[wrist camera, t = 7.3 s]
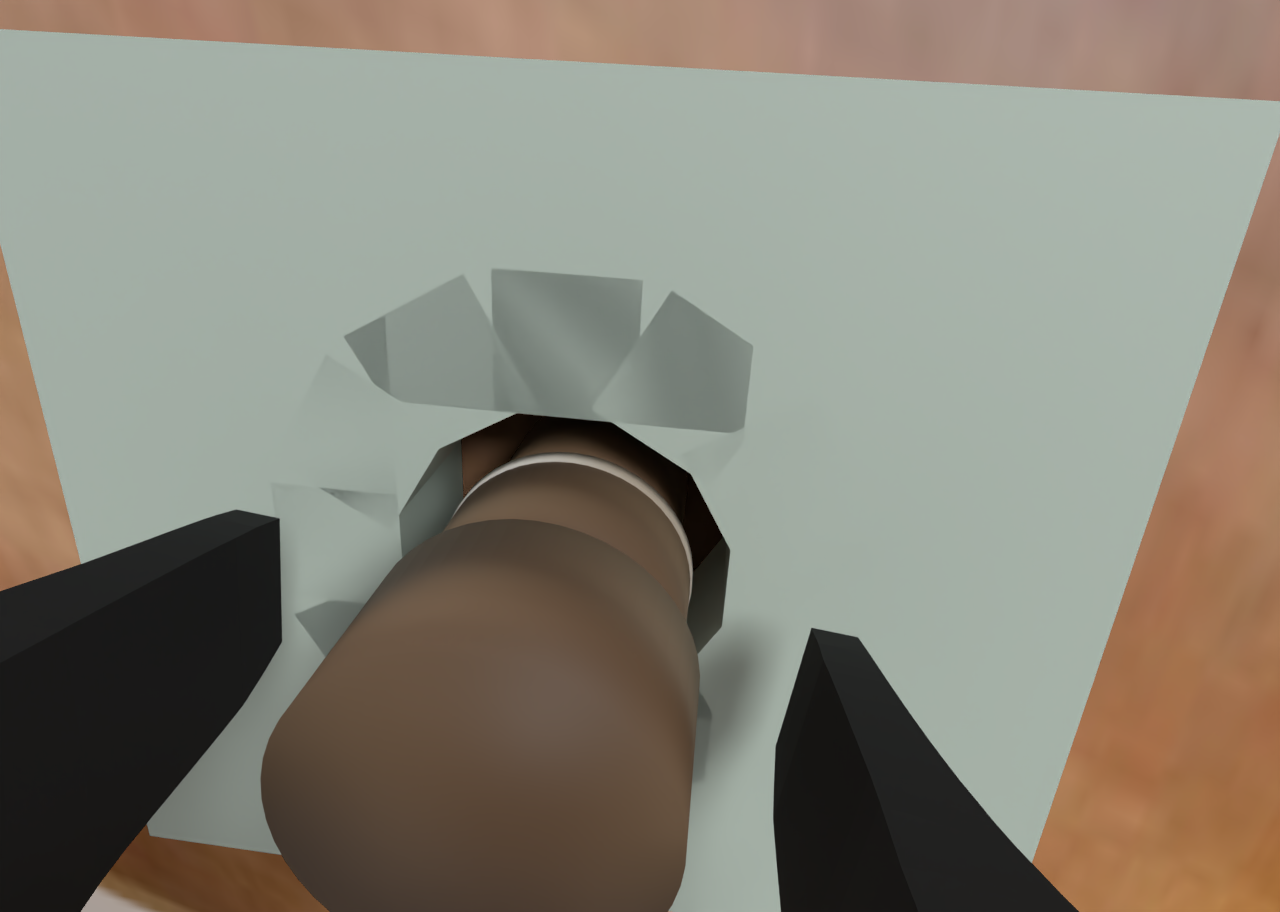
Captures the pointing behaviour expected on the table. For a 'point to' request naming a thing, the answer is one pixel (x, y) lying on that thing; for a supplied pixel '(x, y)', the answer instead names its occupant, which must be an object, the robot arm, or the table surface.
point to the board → (637, 355)
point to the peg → (508, 701)
